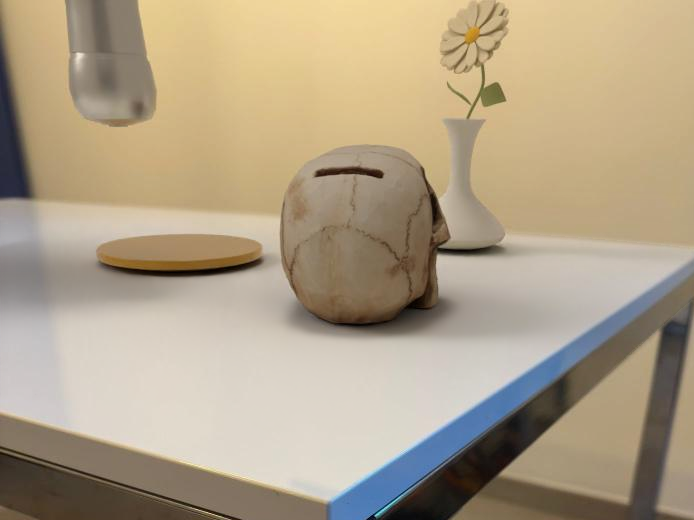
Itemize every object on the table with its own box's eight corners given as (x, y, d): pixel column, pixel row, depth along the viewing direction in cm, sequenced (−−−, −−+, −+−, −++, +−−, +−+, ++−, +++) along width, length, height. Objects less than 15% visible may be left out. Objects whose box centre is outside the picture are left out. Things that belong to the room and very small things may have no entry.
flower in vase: (392, 242, 95) (397, 0, 84) (472, 238, 100) (488, 6, 88) (444, 261, 85) (458, -13, 73) (531, 255, 89) (557, -5, 78)
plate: (65, 271, 77) (63, 255, 76) (143, 244, 91) (141, 231, 91) (230, 280, 74) (229, 264, 73) (282, 251, 89) (282, 237, 88)
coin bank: (400, 276, 76) (407, 124, 68) (494, 340, 63) (515, 162, 55) (244, 295, 70) (233, 131, 63) (313, 369, 57) (308, 175, 50)
